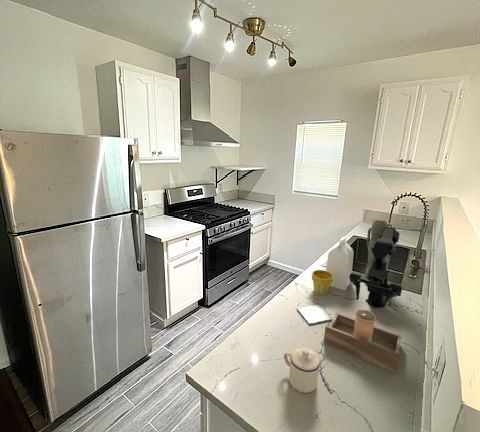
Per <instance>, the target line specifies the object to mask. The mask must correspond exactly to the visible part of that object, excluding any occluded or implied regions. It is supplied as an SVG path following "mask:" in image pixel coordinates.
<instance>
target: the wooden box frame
mask: <svg viewBox="0 0 480 432" xmlns="http://www.w3.org/2000/svg"><path fill="white" fill-rule="evenodd" d="M338 324H339V325H342V326H345V327H348V328H351V329H353V330H354V325H355V318H354V317H353V318H352V317H350V316H347V315H345V314H343V313H342V314H341V313H339V312H336V313H335V315H334V316H333V318H332V321H330V323H329V325H327V324H326V325H325V328H324V336H323V343H325V344H327V345H329V346H332V347H333V348H336V349H338V350H341V351H343V352H345V353H348V354H350V355H353V356H354V357H357V358H360V359H362V360H364V361H367V362H369V363H371V364H374V365H375V366H378V367H380V368H382V369H384V370H388V371H390V372H391V373H395V374H396V371H397V366H398V362H399V357H400V347H401V342H402V335H401V334H397V333H394V332H392V331H388V330H387V329H383V328H380V327H378V326H375V325H374V329H373V335H372V338H376V339H379V340H381V341H384V342H388V343H389V344H392V345H394V346H395V350H391V349H389V348H386V347H382V346H381V345H377V344H375V343H373V342H372V341H371V342H368V341H366V340H363V339H360V338H358V337H355V336H353V334H350V333H348V332H345V331H343V330H340V329H339V328H336V326H337V325H338Z"/></svg>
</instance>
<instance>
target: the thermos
mask: <svg viewBox="0 0 480 432" xmlns="http://www.w3.org/2000/svg"><path fill="white" fill-rule="evenodd" d="M384 227H389V226H388V222H387V221H386V220H379V219H378V220H377V219H376V220H373V222H372V224H371V227H369V228H368V230H367V236H366V247H367V252H368V257H367V267H366V270H365V274H364V278H365V279H368V278H367V275H368V272H369V268H371V264H372V260H373V259H372V246H373V244H374V242H376V240H377V239H378V238H379V236H380V231H381V230H382V229H384ZM366 285H367V286H368V284H366Z"/></svg>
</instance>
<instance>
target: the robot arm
mask: <svg viewBox="0 0 480 432" xmlns="http://www.w3.org/2000/svg"><path fill="white" fill-rule="evenodd" d="M400 235H401V233H400V232H399V231H397V230H396V228H395V227H392V226H388V227H384V229H382V230H381V231H380V236H379V238H378V239H377V240H376V242H374V244H373V246H372V259H373V260H372V264H371V268H369V272H368V275H367V278H368V279H365V277H362V274H360V273H356V272H353V271H352V273H350V276H349V279H350V283H352V285H353V286H355V294H356V295H355V296H356V300H357V301H358V300H359V298H360V292H361V291H360V290H361V283H364V284H365V285H367V284H368V285H367V289H366V290H367V292H369V293H368V296H367V299H365V301H366V302H367V303H368V304H370V305H371V306H372V307H373V308H375V309H376V308H382V309H385V307H387V304H388V303H389V302H390V300H392V299H393V298H397V297H401V296H402V290H403V286H402V285H401V284H398V283H394V282H390V284H389V275H390V270H388V266H389V262H390V257H391V256H393V255H394V254H395V252H396V247H397V243H399V239H400Z"/></svg>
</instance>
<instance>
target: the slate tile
mask: <svg viewBox="0 0 480 432" xmlns="http://www.w3.org/2000/svg"><path fill="white" fill-rule="evenodd" d="M296 310H297V312H298V313H299V314H300V316H302V318H303V319H304V320H305V322H306V323H308V326H309V325H310V326H311V325H315V324H321V323H324V322H325V323H326V322H332V320H333V318H332V317H331V316H330V315H329V314H328V313H327V312H326V311H325V310H324V309H323V308H322V307H321V306H320V305H319V304H314V305H307V306H301V307H297V308H296Z"/></svg>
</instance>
